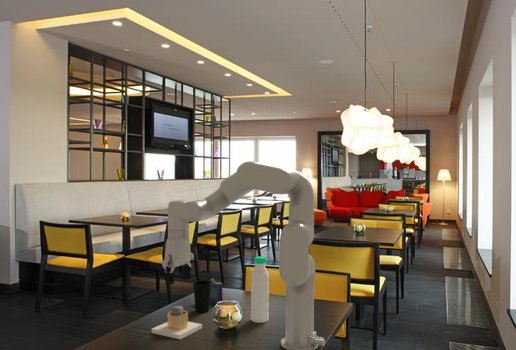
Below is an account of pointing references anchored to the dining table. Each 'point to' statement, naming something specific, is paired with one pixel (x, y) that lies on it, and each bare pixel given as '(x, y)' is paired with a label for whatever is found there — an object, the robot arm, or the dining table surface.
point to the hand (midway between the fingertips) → (178, 280)
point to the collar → (177, 321)
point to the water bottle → (259, 291)
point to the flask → (215, 292)
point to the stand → (176, 334)
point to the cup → (202, 295)
